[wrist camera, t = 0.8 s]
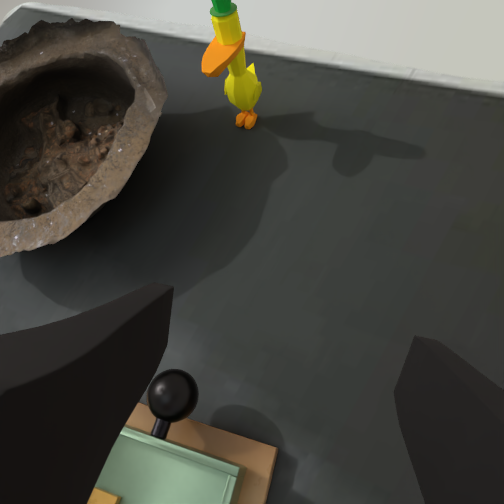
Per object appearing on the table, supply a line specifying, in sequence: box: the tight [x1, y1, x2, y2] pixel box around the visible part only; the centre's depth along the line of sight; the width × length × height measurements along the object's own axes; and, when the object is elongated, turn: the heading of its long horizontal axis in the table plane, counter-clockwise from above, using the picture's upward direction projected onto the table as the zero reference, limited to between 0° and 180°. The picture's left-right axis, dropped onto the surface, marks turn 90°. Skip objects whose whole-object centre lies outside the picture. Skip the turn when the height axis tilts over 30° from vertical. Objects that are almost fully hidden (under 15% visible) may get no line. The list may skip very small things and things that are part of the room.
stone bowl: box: [0, 18, 168, 257], centre depth 37 cm, size 25×25×9 cm
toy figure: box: [202, 0, 262, 129], centre depth 35 cm, size 7×4×12 cm, turn 153°
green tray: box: [95, 369, 247, 504], centre depth 23 cm, size 15×11×3 cm
